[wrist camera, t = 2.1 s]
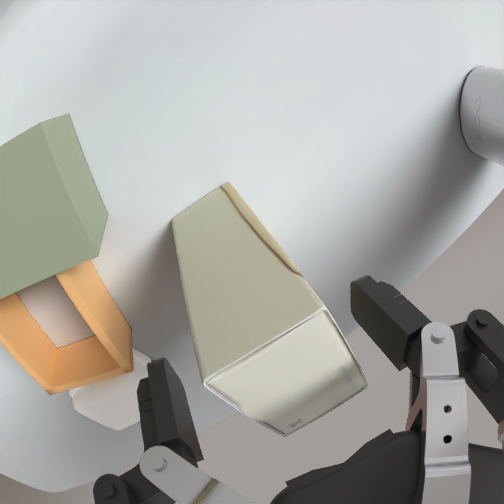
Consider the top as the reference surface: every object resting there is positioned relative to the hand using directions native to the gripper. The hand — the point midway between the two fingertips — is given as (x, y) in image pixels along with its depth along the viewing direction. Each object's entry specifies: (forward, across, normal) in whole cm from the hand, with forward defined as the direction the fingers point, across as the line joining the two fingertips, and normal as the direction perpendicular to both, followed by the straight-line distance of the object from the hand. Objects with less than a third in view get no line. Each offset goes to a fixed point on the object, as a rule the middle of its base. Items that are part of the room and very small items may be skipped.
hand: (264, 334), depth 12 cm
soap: (+10, +12, +11) cm, 19 cm away
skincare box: (+9, -1, 0) cm, 9 cm away
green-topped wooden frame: (+9, +11, -2) cm, 15 cm away
